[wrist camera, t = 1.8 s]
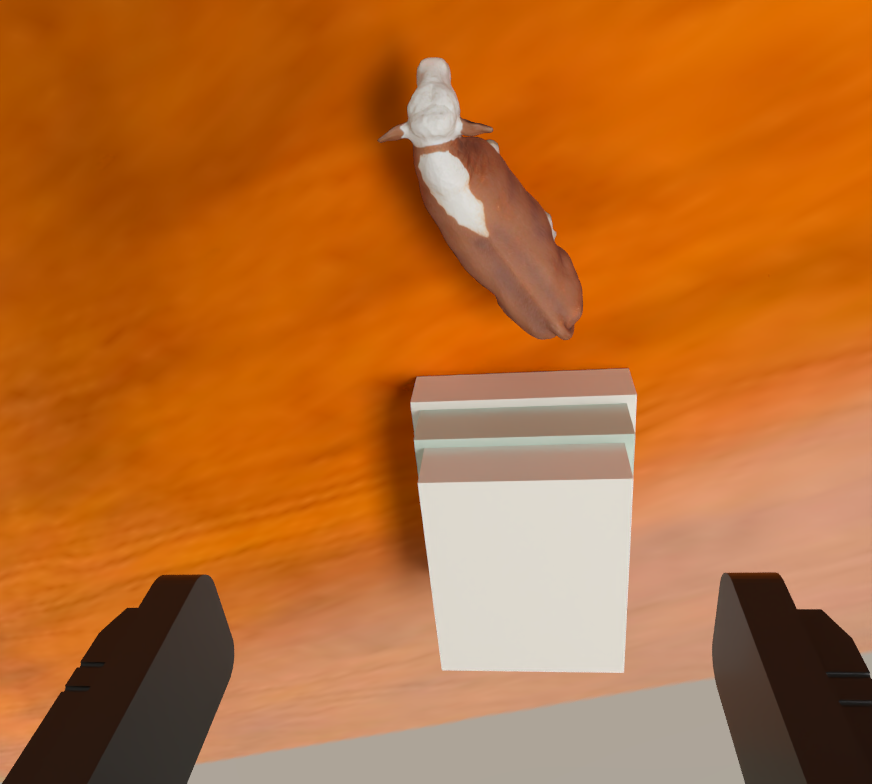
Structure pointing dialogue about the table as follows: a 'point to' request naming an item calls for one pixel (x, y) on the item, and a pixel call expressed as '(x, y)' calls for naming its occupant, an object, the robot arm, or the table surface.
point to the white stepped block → (527, 516)
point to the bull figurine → (487, 211)
